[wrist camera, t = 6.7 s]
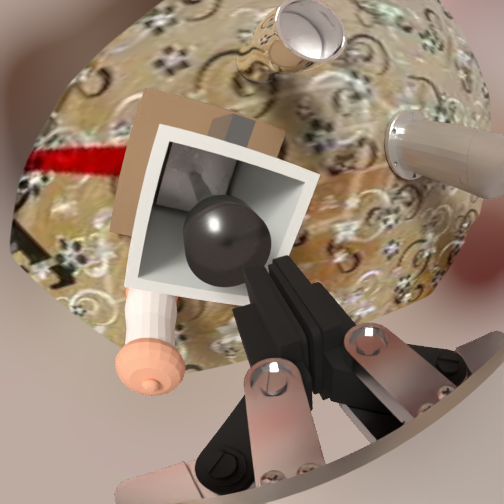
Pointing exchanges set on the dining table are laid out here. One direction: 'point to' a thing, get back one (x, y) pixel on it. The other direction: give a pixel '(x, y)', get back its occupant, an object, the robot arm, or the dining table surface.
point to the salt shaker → (150, 344)
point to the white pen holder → (241, 186)
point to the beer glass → (292, 41)
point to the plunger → (213, 216)
